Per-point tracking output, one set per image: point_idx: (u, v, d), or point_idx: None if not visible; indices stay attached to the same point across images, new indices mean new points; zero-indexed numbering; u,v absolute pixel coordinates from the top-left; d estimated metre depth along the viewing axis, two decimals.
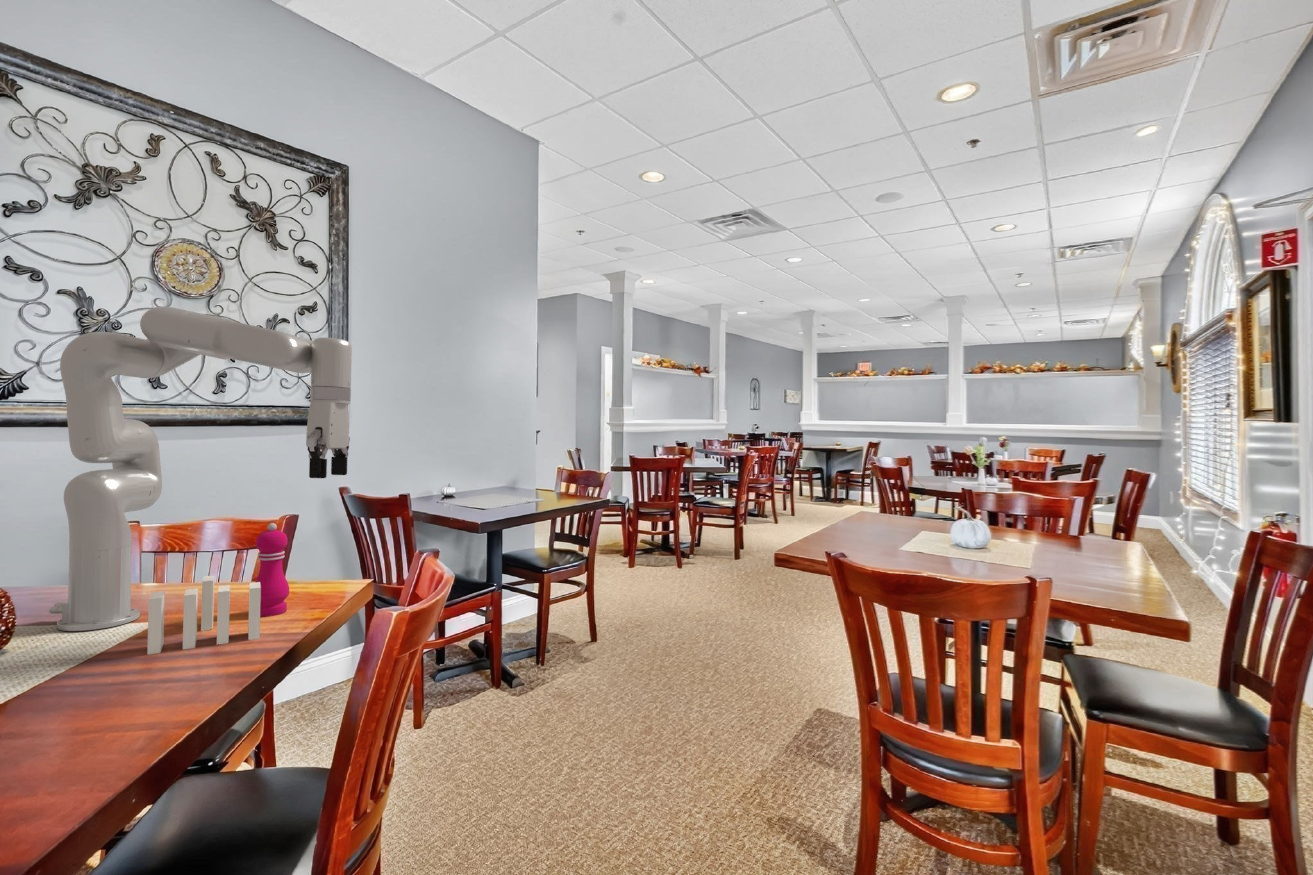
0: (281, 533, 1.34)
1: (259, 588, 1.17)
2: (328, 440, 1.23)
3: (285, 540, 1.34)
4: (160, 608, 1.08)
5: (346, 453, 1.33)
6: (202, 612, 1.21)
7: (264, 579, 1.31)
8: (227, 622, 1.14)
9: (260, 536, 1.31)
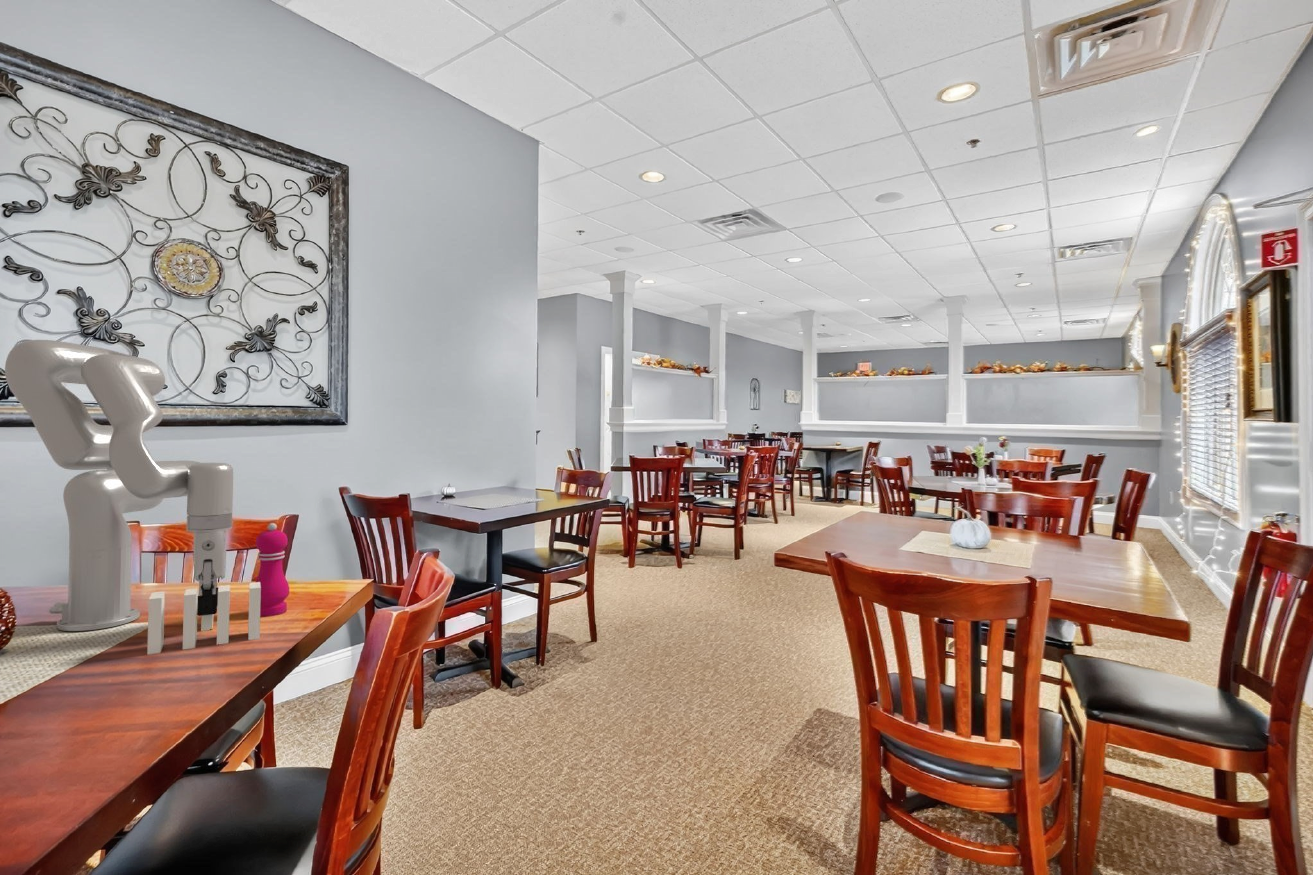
0: (281, 533, 1.34)
1: (259, 588, 1.17)
2: None
3: (285, 540, 1.34)
4: (160, 608, 1.08)
5: (199, 591, 1.19)
6: None
7: (264, 579, 1.31)
8: (227, 622, 1.14)
9: (260, 536, 1.31)
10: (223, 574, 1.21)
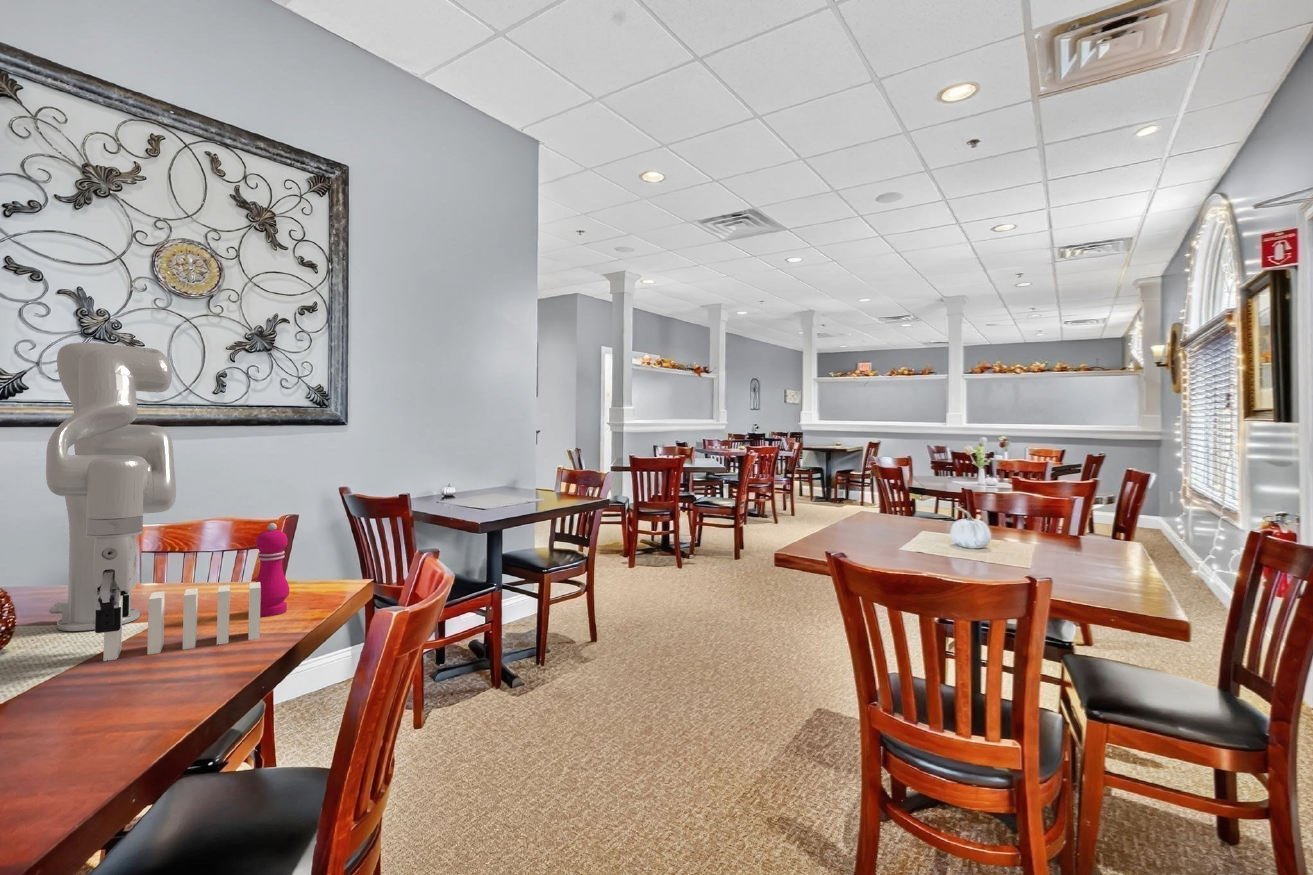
0: (281, 533, 1.34)
1: (259, 588, 1.17)
2: None
3: (285, 540, 1.34)
4: (160, 608, 1.08)
5: None
6: (105, 639, 1.04)
7: (264, 579, 1.31)
8: (227, 622, 1.14)
9: (260, 536, 1.31)
10: (128, 587, 1.04)
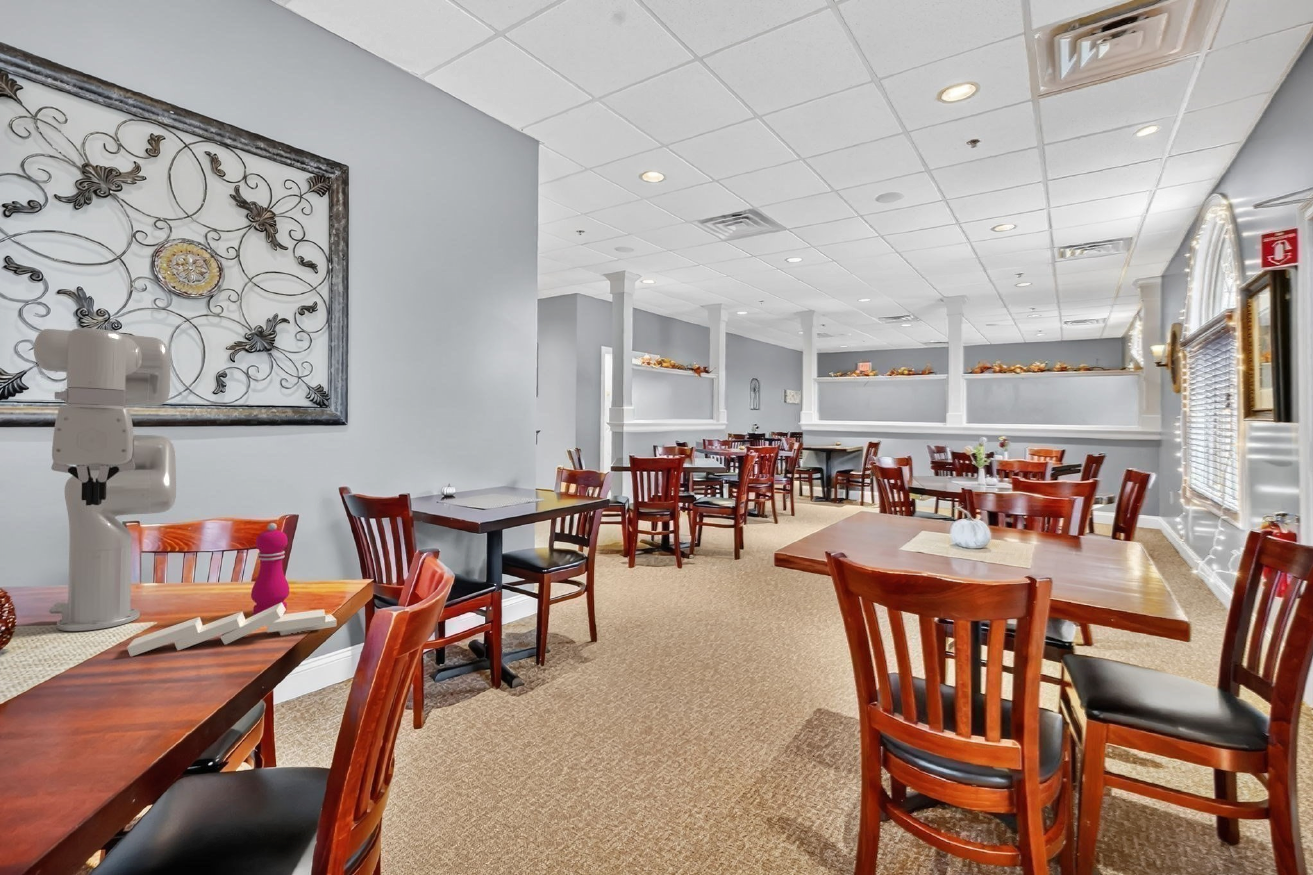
0: (281, 533, 1.34)
1: None
2: None
3: (285, 540, 1.34)
4: (228, 631, 1.13)
5: None
6: (153, 639, 1.08)
7: (264, 579, 1.31)
8: (290, 628, 1.19)
9: (260, 536, 1.31)
10: (55, 457, 1.00)
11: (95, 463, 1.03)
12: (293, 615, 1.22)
